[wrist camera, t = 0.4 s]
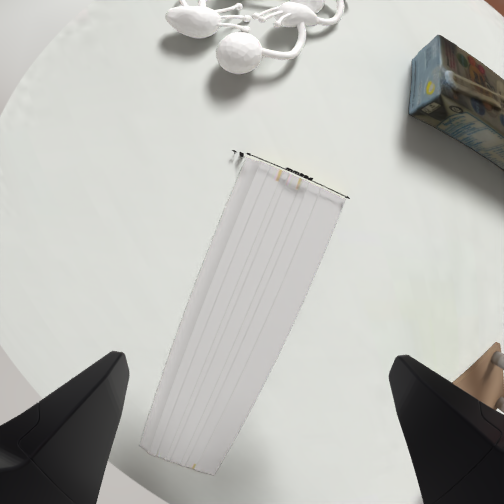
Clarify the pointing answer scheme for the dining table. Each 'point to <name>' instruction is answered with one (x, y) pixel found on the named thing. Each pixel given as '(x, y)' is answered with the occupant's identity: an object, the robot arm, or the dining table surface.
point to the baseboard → (239, 313)
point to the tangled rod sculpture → (243, 44)
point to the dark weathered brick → (459, 97)
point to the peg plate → (486, 378)
